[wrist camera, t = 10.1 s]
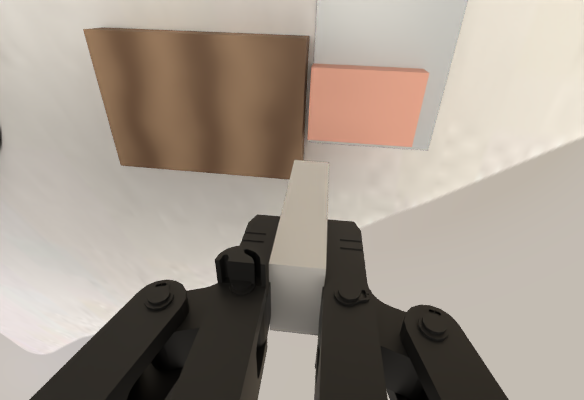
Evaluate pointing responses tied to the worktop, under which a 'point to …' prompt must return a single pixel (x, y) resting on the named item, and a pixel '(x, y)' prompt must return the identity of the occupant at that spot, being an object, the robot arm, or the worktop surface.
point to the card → (365, 104)
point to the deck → (203, 99)
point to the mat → (393, 45)
